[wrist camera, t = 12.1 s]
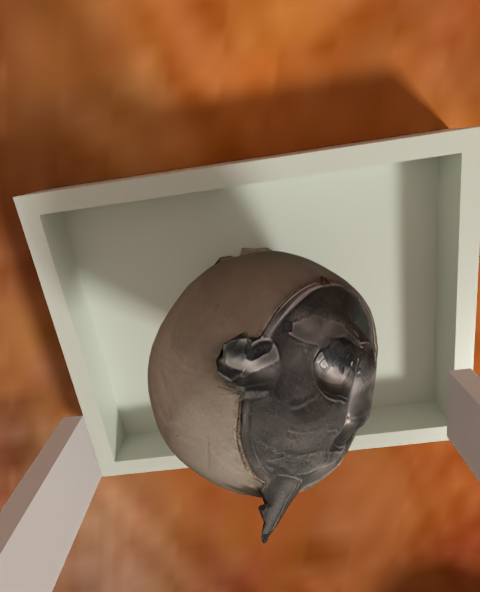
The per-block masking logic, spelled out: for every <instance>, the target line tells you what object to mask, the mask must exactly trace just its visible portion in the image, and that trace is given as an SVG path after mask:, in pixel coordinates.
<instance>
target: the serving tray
mask: <svg viewBox="0 0 480 592" xmlns="http://www.w3.org/2000/svg"><path fill="white" fill-rule="evenodd" d="M13 200H14V203H15V206H16V209H17V212H18V215H19V218H20V221H21V224H22V228H23V231H24V234H25V237H26V240H27V243H28V246H29V249H30V252H31V255H32V258H33V262H34V265H35V268H36V271H37V274H38V277H39V280H40V283H41V286H42V289H43V293H44V296H45V299H46V302H47V305H48V308H49V311H50V314H51V317H52V320H53V324H54V327H55V330H56V333H57V336H58V339H59V342H60V345H61V348H62V351H63V355H64V358H65V361H66V364H67V367H68V370H69V373H70V376H71V379H72V382H73V385H74V389H75V392H76V395H77V398H78V401H79V404H80V407H81V410H82V413H83V416H84V420H85V423H86V426H87V429H88V432H89V435H90V438H91V441H92V444H93V447H94V451H95V454H96V457H97V460H98V463H99V466H100V469H101V472H102V475H103V477H104V476H114V475H123V474H132V473H142V472H151V471H161V470H170V469H180V468H189V467H187V466H186V465H185V464H184V463H183V462H182V461H180V460H179V459H178V458H177V456H176V455H175V454H174V453H173V452H172V451H171V450H170V448H169V447H168V445H167V444H166V442H165V441H164V439H163V437H162V436H161V433H160V431H159V429H158V427H157V424H156V421H155V418H154V414H153V410H152V407H151V402H150V398H149V393H148V364H149V357H150V353H151V348H152V345H153V342H154V340H155V338H156V335H157V333H158V330H159V328H160V326H161V324H162V322H163V321H164V319H165V317H166V316H167V314H168V312H169V311H170V309H171V308H172V306H173V305H174V303H175V302H176V301H177V299H178V298H179V296H180V295H181V294H182V292H183V291H184V290H185V289H186V287H187V286H188V285H189V284H190V283H191V282H193V281H194V280H195V279H196V278H197V277H198V276H200V275H201V274H202V273H203V272H205V271H206V270H207V269H208V268H210V267H211V266H213V265H215V263H216V262H217V261H218V259H219V258H220V257H227V256H234V257H236V256H239V255H240V253H241V250H242V248H269V249H271V250H273V251H281V252H286V253H290V254H294V255H298V256H301V257H304V258H307V259H309V260H312V261H314V262H316V263H318V264H320V265H322V266H323V267H325V268H327V269H329V270H330V271H332V272H334V273H335V274H337V275H338V276H340V277H341V278H343V279H344V280H346V281H347V282H348V283H349V284H350V285H351V286H353V287H354V288H355V289H356V290H357V291H358V292H359V293H360V295H361V296H362V297H363V298H364V300H365V301H366V303H367V305H368V306H369V308H370V310H371V313H372V316H373V319H374V323H375V328H376V334H377V344H378V355H377V369H376V379H375V386H374V392H373V400H372V407H371V412H370V417H369V418H368V420H367V421H366V422H365V424H364V425H363V426H362V427H360V428H359V429H358V431H357V433H356V435H355V438H354V440H353V442H352V444H351V446H350V448H349V450H348V451H350V450H360V449H369V448H379V447H388V446H398V445H407V444H417V443H426V442H436V441H445V440H449V439H448V437H447V401H448V371H452V370H460V369H468V368H471V369H472V370H473V361H474V342H475V323H476V304H477V284H478V265H479V246H480V126H478V127H464V128H450V129H443V130H437V131H430V132H423V133H417V134H410V135H403V136H397V137H390V138H384V139H377V140H370V141H364V142H357V143H350V144H344V145H337V146H331V147H324V148H317V149H311V150H304V151H297V152H291V153H284V154H277V155H271V156H264V157H258V158H251V159H244V160H238V161H231V162H224V163H218V164H211V165H205V166H198V167H191V168H185V169H178V170H171V171H165V172H158V173H152V174H145V175H138V176H132V177H125V178H118V179H112V180H105V181H99V182H92V183H85V184H79V185H72V186H65V187H59V188H52V189H46V190H41V191H37V192H33V193H28V194H24V195H20V196H15V197H13Z"/></svg>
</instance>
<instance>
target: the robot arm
mask: <svg viewBox="0 0 480 592" xmlns="http://www.w3.org/2000/svg"><path fill="white" fill-rule="evenodd" d="M447 437H448V439H449V440H450V441H451V443H452V444H453V446H454V447H455V448H456V450H457V451H458V453H459V454H460V455H461V457H462V458H463V460H464V461H465V462H466V464H467V465H468V467H469V468H470V469H471V471H472V472H473V474H474V475H475V476H476V478H477V479H478V481H479V482H480V377H479V376H478V375H477V374H476V373H475V372H474V371H473V370H472V369H471V368H468V369H460V370H452V371H448V401H447ZM101 477H102V474H101V471H100V468H99V465H98V461H97V458H96V455H95V452H94V449H93V446H92V442H91V439H90V436H89V433H88V430H87V426H86V423H85V420H84V417H83V416H75V417H67V418H62V420H61V421H60V423H59V424H58V426H57V427H56V429H55V430H54V432H53V433H52V435H51V436H50V438H49V439H48V441H47V442H46V444H45V445H44V447H43V448H42V450H41V451H40V453H39V454H38V456H37V457H36V459H35V460H34V462H33V463H32V465H31V466H30V468H29V469H28V471H27V472H26V474H25V475H24V477H23V478H22V480H21V481H20V483H19V484H18V486H17V487H16V489H15V490H14V492H13V493H12V495H11V496H10V498H9V499H8V501H7V502H6V504H5V505H4V507H3V508H2V510H1V511H0V592H52V591H53V588H54V586H55V584H56V581H57V579H58V577H59V574H60V572H61V570H62V567H63V565H64V563H65V560H66V558H67V556H68V553H69V551H70V549H71V546H72V544H73V542H74V539H75V537H76V535H77V532H78V530H79V528H80V525H81V523H82V521H83V518H84V516H85V514H86V511H87V509H88V507H89V504H90V502H91V500H92V498H93V495H94V493H95V491H96V488H97V486H98V484H99V481H100V479H101Z"/></svg>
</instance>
